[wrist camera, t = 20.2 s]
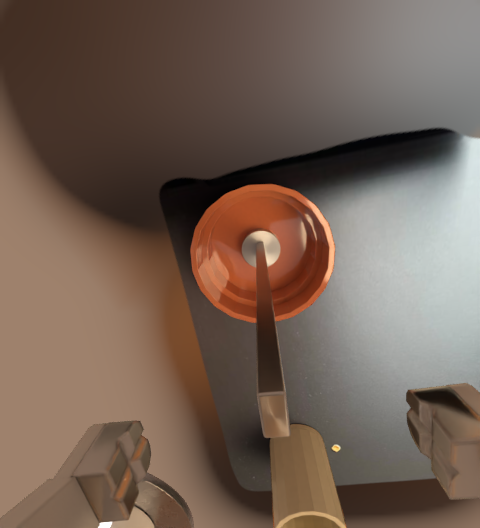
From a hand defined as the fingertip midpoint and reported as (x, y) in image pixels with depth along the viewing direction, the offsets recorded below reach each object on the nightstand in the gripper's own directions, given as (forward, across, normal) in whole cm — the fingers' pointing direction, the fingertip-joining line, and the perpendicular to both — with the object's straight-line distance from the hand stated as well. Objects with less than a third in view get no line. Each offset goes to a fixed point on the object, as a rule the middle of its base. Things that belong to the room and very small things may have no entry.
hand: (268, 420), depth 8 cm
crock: (+24, 0, +32) cm, 41 cm away
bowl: (+24, 0, 0) cm, 24 cm away
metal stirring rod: (+24, 0, 0) cm, 24 cm away
